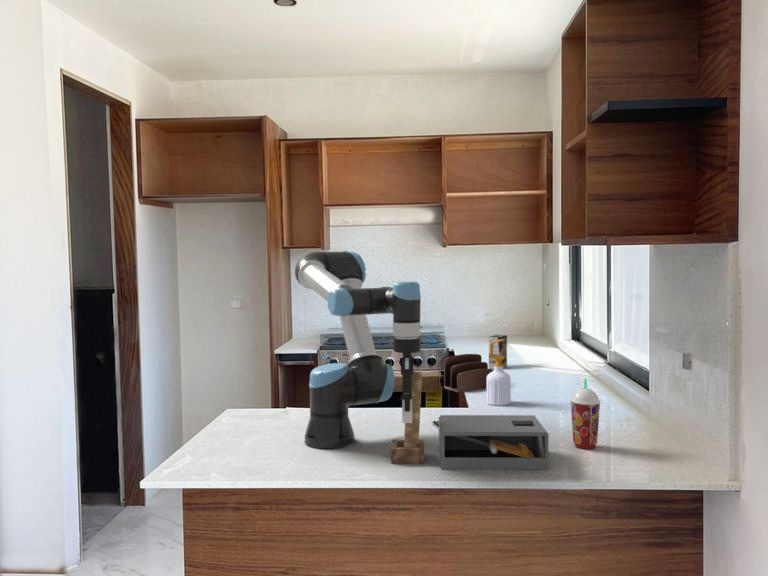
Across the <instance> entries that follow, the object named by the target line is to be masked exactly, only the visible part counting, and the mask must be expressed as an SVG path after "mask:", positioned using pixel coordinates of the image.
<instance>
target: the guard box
mask: <svg viewBox="0 0 768 576" xmlns="http://www.w3.org/2000/svg"><path fill="white" fill-rule="evenodd" d="M438 421H439V423H438V424H439V429H438V452H439V460H440V467H441V470H495V469H527V470H526V471H528V470H529V471H530V470H531V471H532V470H533V471H541V470H542V471H549V433H548V432H547V430H546V429H545V427H544V426H543V425H542V424H541V422H540V421H539V419H538V418H537V417H536V416H535V415H532V414H531V415H530V414H529V415H528V414H526V415H522V414H521V415H519V414H518V415H516V414H515V415H512V414H505V415H502V414H501V415H500V414H499V415H492V414H488V415H487V414H486V415H485V414H484V415H480V414H475V415H473V414H467V415H466V414H465V415H463V414H459V415H457V414H451V415H450V414H449V415H448V414H440V415H439V416H438ZM454 436H484V437H485V436H491V437H492V439H495V440H498V441H501V442H505V443H508V444H511V445H515V446H518V444H519V443H521V444H525V445H526V446H527V448H528V449H529V450H531V451H532V452H533V453H534V455H535V458H525V457H521V456H518V457H507V456H506V457H504V456H503V457H498V456H496V457H495V456H493V457H492V456H491V457H490V456H489V457H487V456H486V457H485V456H484V457H481V456H480V457H479V456H473V457H472V456H471V457H469V456H462V457H461V456H448V457H447V456H445V455H446V454H445V451H491V450H490V448H489V447H487V446H484V445H481V444H477V443H474V442H471V441H467V440H464V439H460V438H457V437H454Z"/></svg>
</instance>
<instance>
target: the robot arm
mask: <svg viewBox="0 0 768 576" xmlns="http://www.w3.org/2000/svg"><path fill="white" fill-rule="evenodd" d="M294 276H295V278H296V280H297V283H298V284H300V285H301V286H302V287H304V288H305V289H306V290H307V289H308V290H312V291H314V292H315V293H316V294H318V295H319V296H320V298H323V299H324V300H325V301H326V302H327V308H328V310H329V313H330V314H331V315H332V316H334V317H339V318H340V324H341V328H342V331H343V335H344V340H345V341H344V342H345V345H346V348H347V352H348V357H349V361H348V362H347V363H344V362H335V363H334V362H333V363H327V364H322V365H319V366H316V367H315V368H313V369H312V370H311V371H310V374H309V384H308V386H309V387H308V388H309V411H310V412H309V415H310V416H309V420H308V423H307V427H306V430H305V433H304V444H305V445H306V446H309V447H311V448H316V449H337V448H338V449H339V448H344V447H348V446H350V445H352V444H354V443H355V431H354V428H353V426H352V423H351V421H350V416H349V406H358V405H367V404H378V403H380V402H386V401H387V400H389V399H390V398H391V397H392V394H393V392H394V387H395V373H394V370H393V367H392V366H391V365H390V363H384V359H383V356H382V355H381V354H378V353H377V352H376V348H375V344H374V341H373V336H372V333H371V329H370V325H369V321H368V316H367V315H384V314H385V315H386V314H392V317H393V318H392V321H393V322H392V335H393V337H394V338H393V349H392V351H394V352H395V353H398V354H402V356H401V357H399V365H400V375H401V376H402V395H401V396H400V397H399V400H401V402H402V403H401V405H402V406H401V409H402V411H401V412H402V413H401V414H402V416H401V417H402V418H401V419H402V421H401V423H402V424H405V423H412V375H413V371H414V366H415V357H413V355H412V353H413V354H414V353H419V352H420V351H421V344H422V343H421V338H420V336H421V329H423V328H424V327H423V325H420V324H421V299H422V298H421V297H422V296H421V295H422V294H421V288H420V283H419V282H417V281H395V282H394V283H393V285H392V287H391V286H382V287H372V288H371V287H368V288H367V287H366V288H363V284H364V283H365V281H366V277H367V274H366V265H365V262H364V259H363V257H362V256H361V255H360V254H359V253H357V252H355V251H348V250H342V251H312V252H309V253H307V254H304V255H303V256H302V257H300V259H299V260H298V261H297V263H296V264H295V268H294Z"/></svg>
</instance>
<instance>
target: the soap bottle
mask: <svg viewBox="0 0 768 576" xmlns="http://www.w3.org/2000/svg"><path fill="white" fill-rule="evenodd" d="M501 341H503V339H501V340H497V341H494V342H493V343H491V345H490V357H491V358H492V359H495V361H496V364H494V369H493V370H494V371H493V372H491V373H489V374H488V375H487V388H486V404H488V405H490V406H497V407H503V406H509V405H510V404H511V402H512V401H511V396H512V395H511V394H512V392H511V389H512V388H511V387H512V386H511V384H512V383H511V382H512V381H511V379H512V378H511V375H509V373H507V372H506V371H504V368H503V365H502V364H501V361H502V359H504V358H505V357H503V356H494V355H493V344H494V343H497V342H501Z"/></svg>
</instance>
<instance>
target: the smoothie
mask: <svg viewBox="0 0 768 576" xmlns="http://www.w3.org/2000/svg"><path fill="white" fill-rule="evenodd" d="M583 382H584V383H583V384H584V385H583V386H584V388H583V387H582V388H580V389H577V390H576V391H575V392H574V393H573V395H572V397H571V398H570V408H571V409H570V410H571V428H572V441H573V443H574V446H575V447H576V448H578V449H582V450H593V449H595V448H596V446H597V444H598V438H599V437H598V435H599V421H600V409H601V400H600V399H599V397H598V395H597V393H596V391H594V390H592V389H590V388H588V384H587V383H588V381H587V378H585V379H584V381H583Z"/></svg>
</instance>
